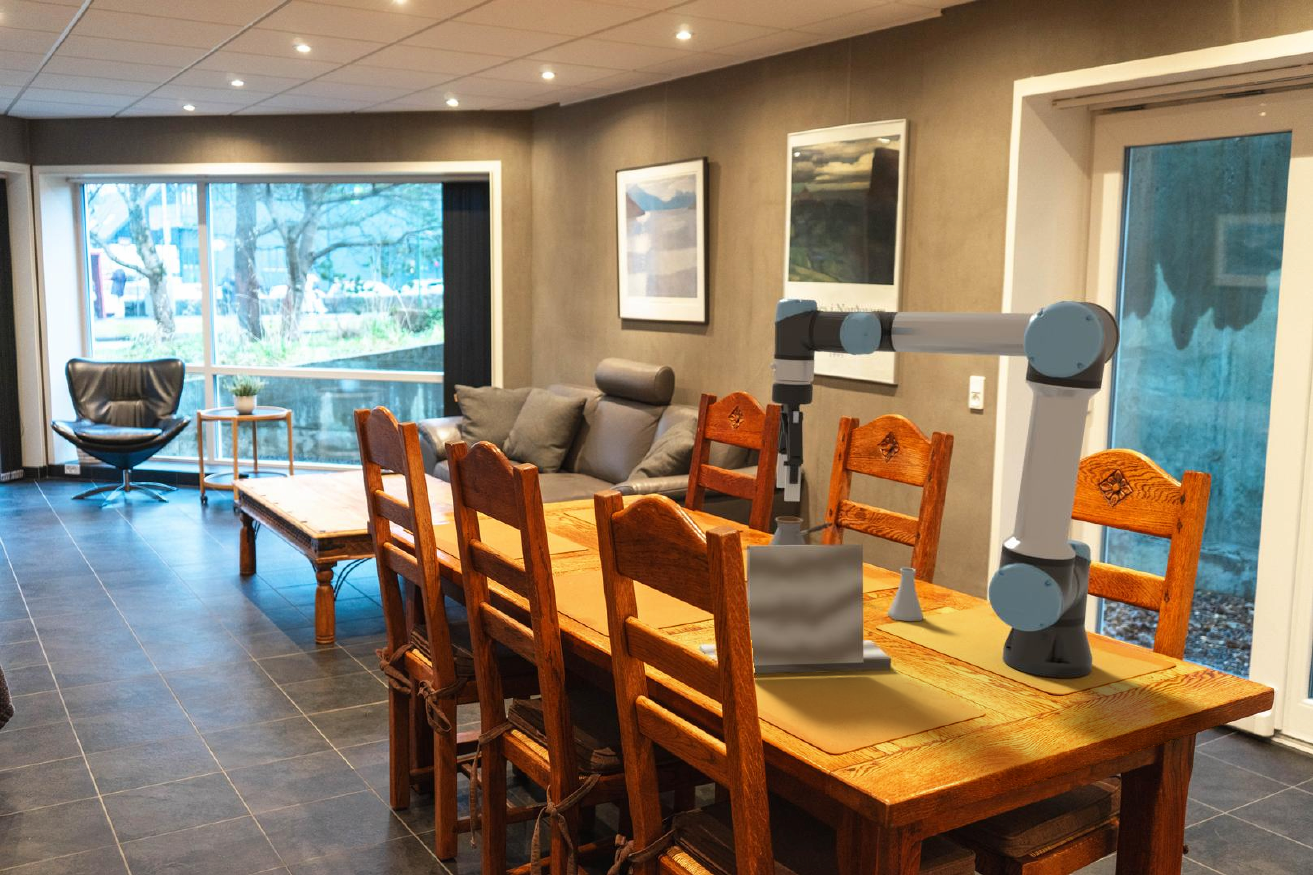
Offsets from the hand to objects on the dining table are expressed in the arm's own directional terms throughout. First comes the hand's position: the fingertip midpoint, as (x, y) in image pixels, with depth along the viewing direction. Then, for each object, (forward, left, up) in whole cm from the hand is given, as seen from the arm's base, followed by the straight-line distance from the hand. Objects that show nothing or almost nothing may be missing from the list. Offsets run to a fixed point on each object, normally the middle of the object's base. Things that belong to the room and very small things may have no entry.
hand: (787, 494), depth 209 cm
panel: (-19, +14, -15) cm, 28 cm away
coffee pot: (+25, -32, -27) cm, 49 cm away
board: (-14, +11, -27) cm, 32 cm away
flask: (-8, -28, -27) cm, 40 cm away
